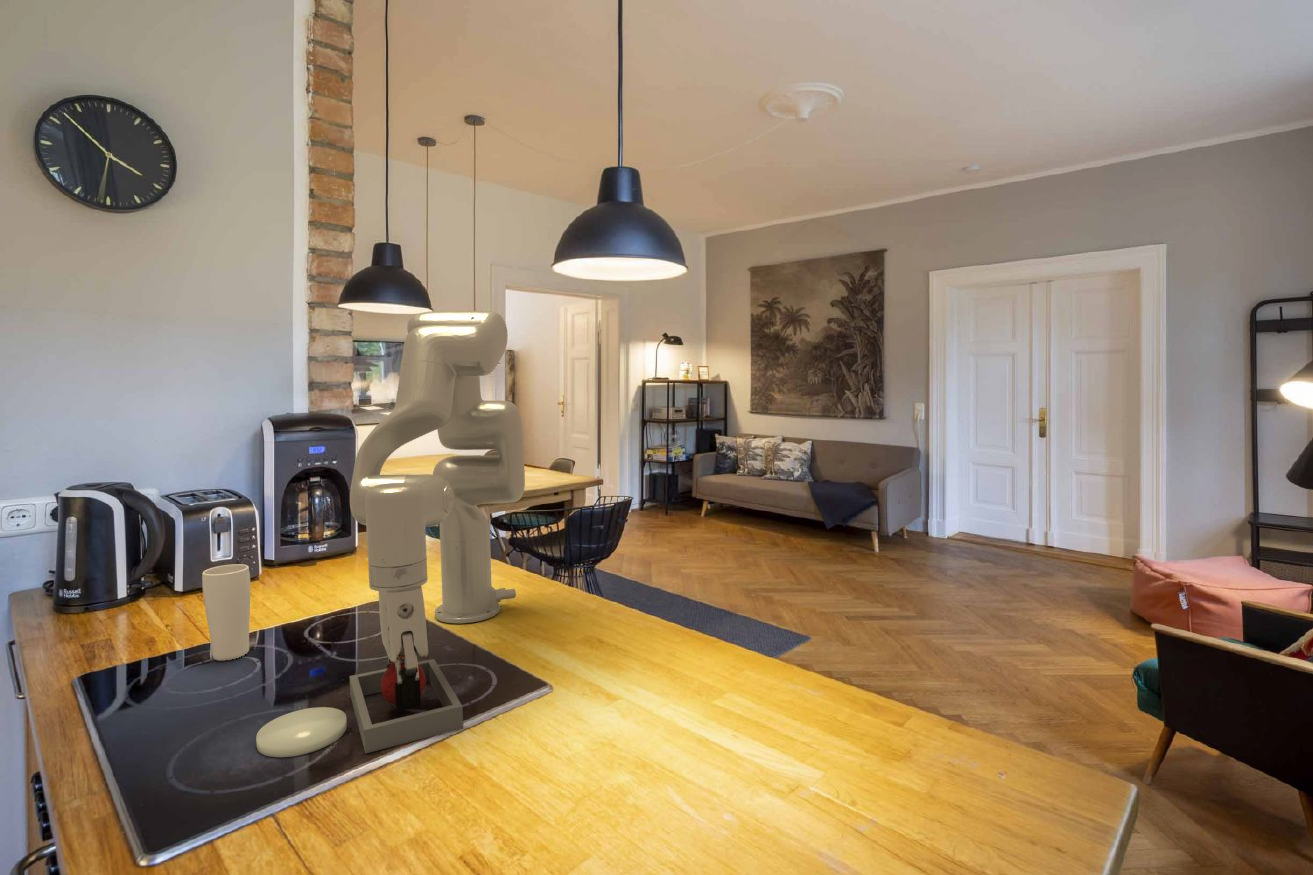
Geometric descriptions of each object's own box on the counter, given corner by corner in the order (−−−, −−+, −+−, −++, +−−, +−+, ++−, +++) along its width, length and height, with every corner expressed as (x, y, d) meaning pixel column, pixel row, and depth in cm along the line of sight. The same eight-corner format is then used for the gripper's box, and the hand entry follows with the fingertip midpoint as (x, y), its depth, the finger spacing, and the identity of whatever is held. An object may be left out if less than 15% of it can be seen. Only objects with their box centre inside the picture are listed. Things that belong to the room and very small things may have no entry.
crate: (434, 677, 104) (433, 658, 104) (463, 727, 89) (462, 706, 88) (350, 695, 98) (349, 676, 98) (365, 753, 83) (364, 730, 83)
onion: (384, 722, 90) (381, 665, 89) (380, 704, 95) (377, 650, 94) (429, 712, 93) (427, 656, 92) (423, 694, 98) (420, 642, 97)
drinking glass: (231, 665, 110) (226, 575, 109) (197, 662, 111) (191, 573, 110) (263, 649, 116) (258, 564, 115) (230, 646, 118) (225, 563, 117)
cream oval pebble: (343, 708, 94) (342, 700, 94) (350, 742, 85) (350, 733, 85) (257, 728, 89) (256, 719, 89) (255, 766, 80) (255, 756, 80)
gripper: (440, 585, 87) (445, 718, 88) (415, 555, 101) (420, 669, 103) (377, 594, 83) (384, 734, 84) (361, 562, 98) (367, 681, 99)
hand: (404, 697), depth 94 cm, fingers closed on onion, 5 cm apart
